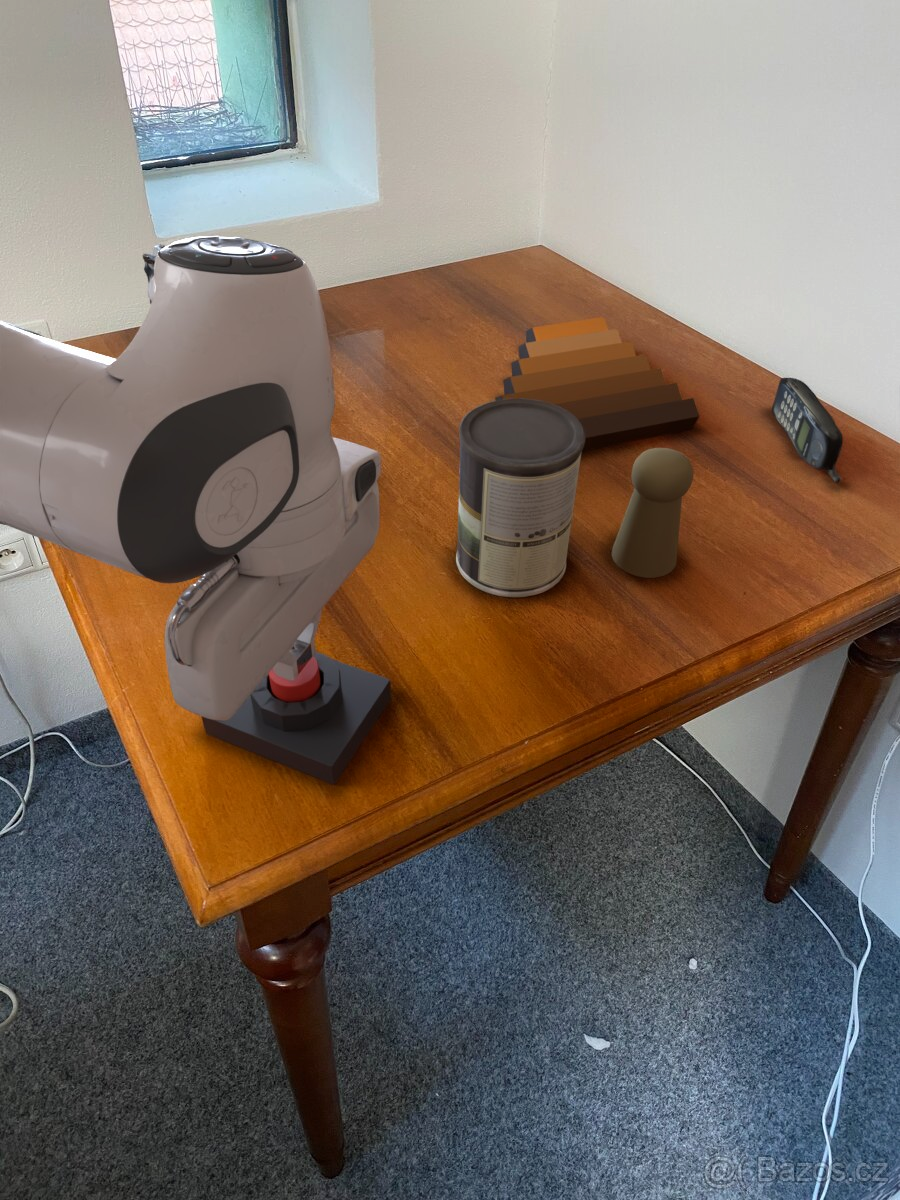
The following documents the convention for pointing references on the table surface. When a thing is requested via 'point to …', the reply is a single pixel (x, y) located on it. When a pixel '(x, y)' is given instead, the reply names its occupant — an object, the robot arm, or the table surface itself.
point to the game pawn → (653, 514)
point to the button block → (309, 720)
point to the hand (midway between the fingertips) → (295, 665)
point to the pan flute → (598, 383)
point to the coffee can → (516, 495)
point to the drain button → (297, 684)
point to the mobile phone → (808, 425)
